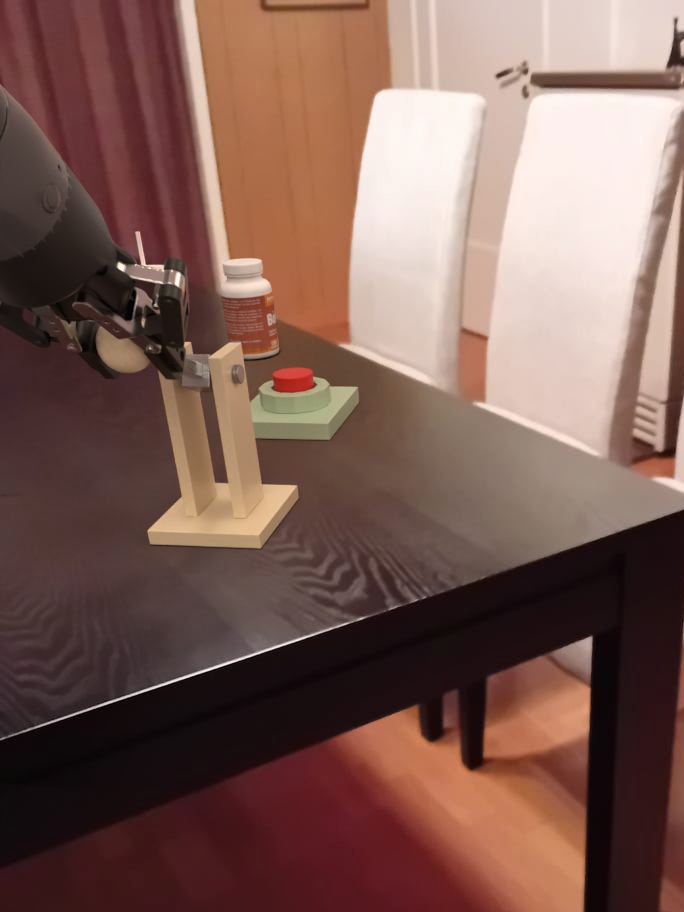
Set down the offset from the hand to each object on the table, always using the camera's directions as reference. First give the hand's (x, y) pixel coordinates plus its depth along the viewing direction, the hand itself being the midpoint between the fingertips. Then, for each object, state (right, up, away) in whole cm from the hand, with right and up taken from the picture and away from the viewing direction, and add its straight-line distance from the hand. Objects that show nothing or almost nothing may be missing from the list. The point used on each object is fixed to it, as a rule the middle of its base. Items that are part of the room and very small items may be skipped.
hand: (144, 366), depth 67 cm
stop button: (+3, +7, +35) cm, 36 cm away
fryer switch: (+2, -8, +15) cm, 17 cm away
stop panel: (+3, +5, +37) cm, 38 cm away
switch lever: (0, -1, +3) cm, 3 cm away
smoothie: (-19, +20, +64) cm, 69 cm away
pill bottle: (-6, +18, +60) cm, 63 cm away
